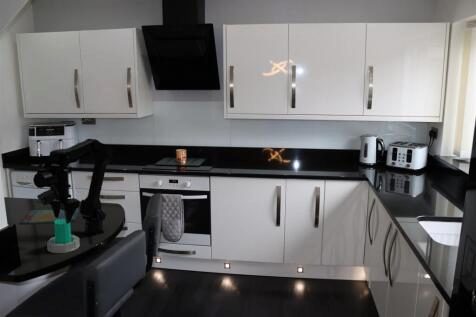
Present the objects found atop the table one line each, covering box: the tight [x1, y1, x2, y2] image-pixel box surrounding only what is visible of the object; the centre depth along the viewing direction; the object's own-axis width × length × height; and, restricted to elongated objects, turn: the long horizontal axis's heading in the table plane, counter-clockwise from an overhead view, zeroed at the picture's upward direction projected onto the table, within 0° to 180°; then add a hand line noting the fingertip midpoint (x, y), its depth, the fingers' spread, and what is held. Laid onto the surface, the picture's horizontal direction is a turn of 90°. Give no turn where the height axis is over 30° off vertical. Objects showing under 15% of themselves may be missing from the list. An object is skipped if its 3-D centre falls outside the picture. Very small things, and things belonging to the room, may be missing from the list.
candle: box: [53, 219, 72, 244], centre depth 158 cm, size 6×6×12 cm
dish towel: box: [21, 207, 80, 225], centre depth 193 cm, size 17×23×2 cm
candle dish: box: [46, 234, 81, 254], centre depth 159 cm, size 12×12×3 cm
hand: (62, 220), depth 157 cm, fingers open, 9 cm apart
